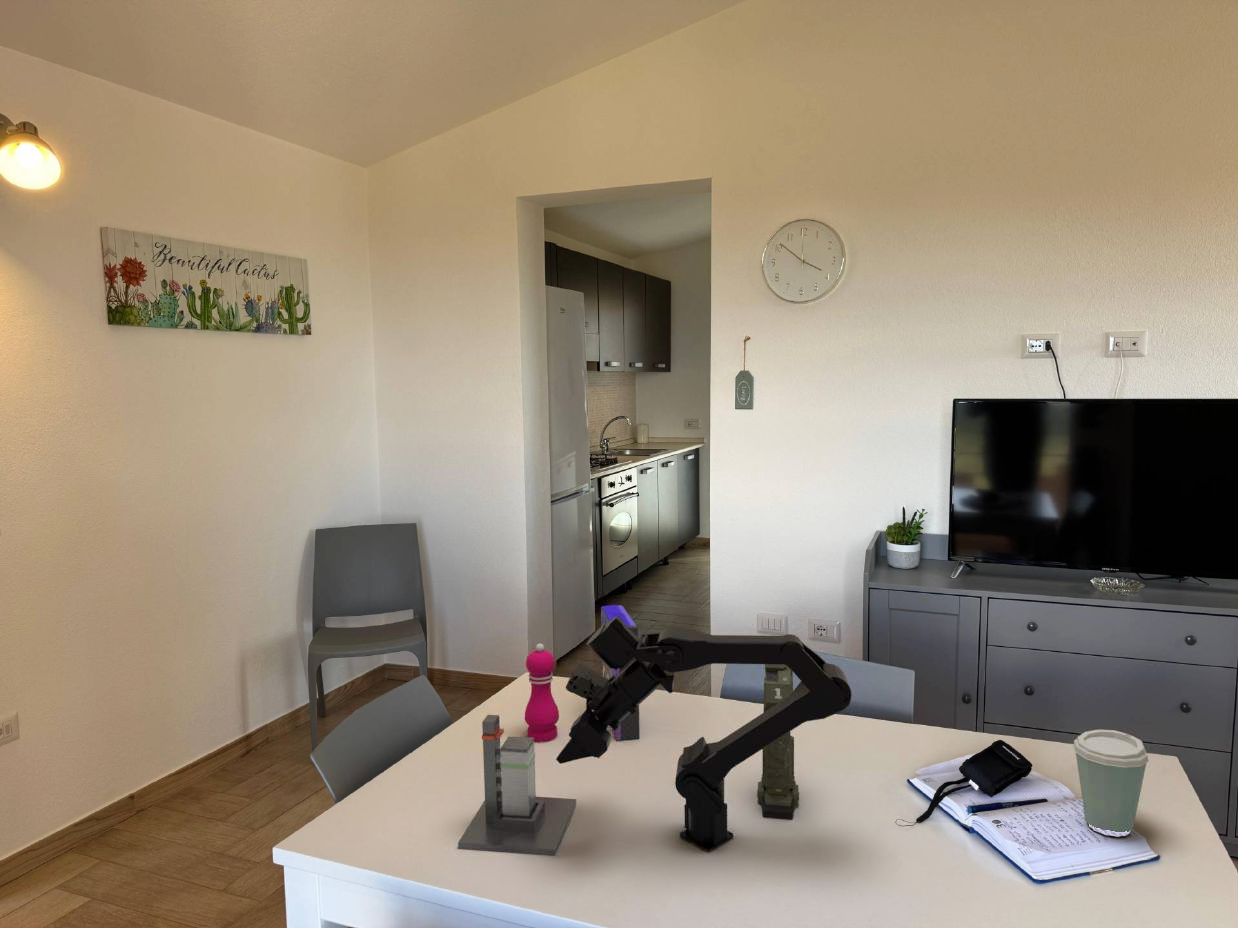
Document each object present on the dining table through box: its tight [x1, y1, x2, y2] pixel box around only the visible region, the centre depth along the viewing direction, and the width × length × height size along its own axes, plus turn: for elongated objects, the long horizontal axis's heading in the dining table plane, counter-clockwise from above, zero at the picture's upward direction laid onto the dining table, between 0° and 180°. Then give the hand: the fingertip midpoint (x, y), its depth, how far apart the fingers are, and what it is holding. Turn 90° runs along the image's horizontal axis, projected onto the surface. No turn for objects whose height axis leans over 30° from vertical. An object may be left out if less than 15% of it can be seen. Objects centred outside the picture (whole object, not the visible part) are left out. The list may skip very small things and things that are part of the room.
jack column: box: [500, 736, 537, 819], centre depth 141 cm, size 5×5×13 cm
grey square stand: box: [457, 714, 577, 856], centre depth 140 cm, size 16×16×18 cm
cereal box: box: [600, 604, 641, 742], centre depth 181 cm, size 17×5×24 cm, turn 10°
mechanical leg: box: [756, 664, 800, 821], centre depth 147 cm, size 14×7×30 cm, turn 168°
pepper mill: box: [524, 643, 560, 743], centre depth 176 cm, size 7×7×20 cm
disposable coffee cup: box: [1072, 729, 1149, 832], centre depth 137 cm, size 11×11×15 cm
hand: (564, 748), depth 139 cm, fingers open, 9 cm apart
